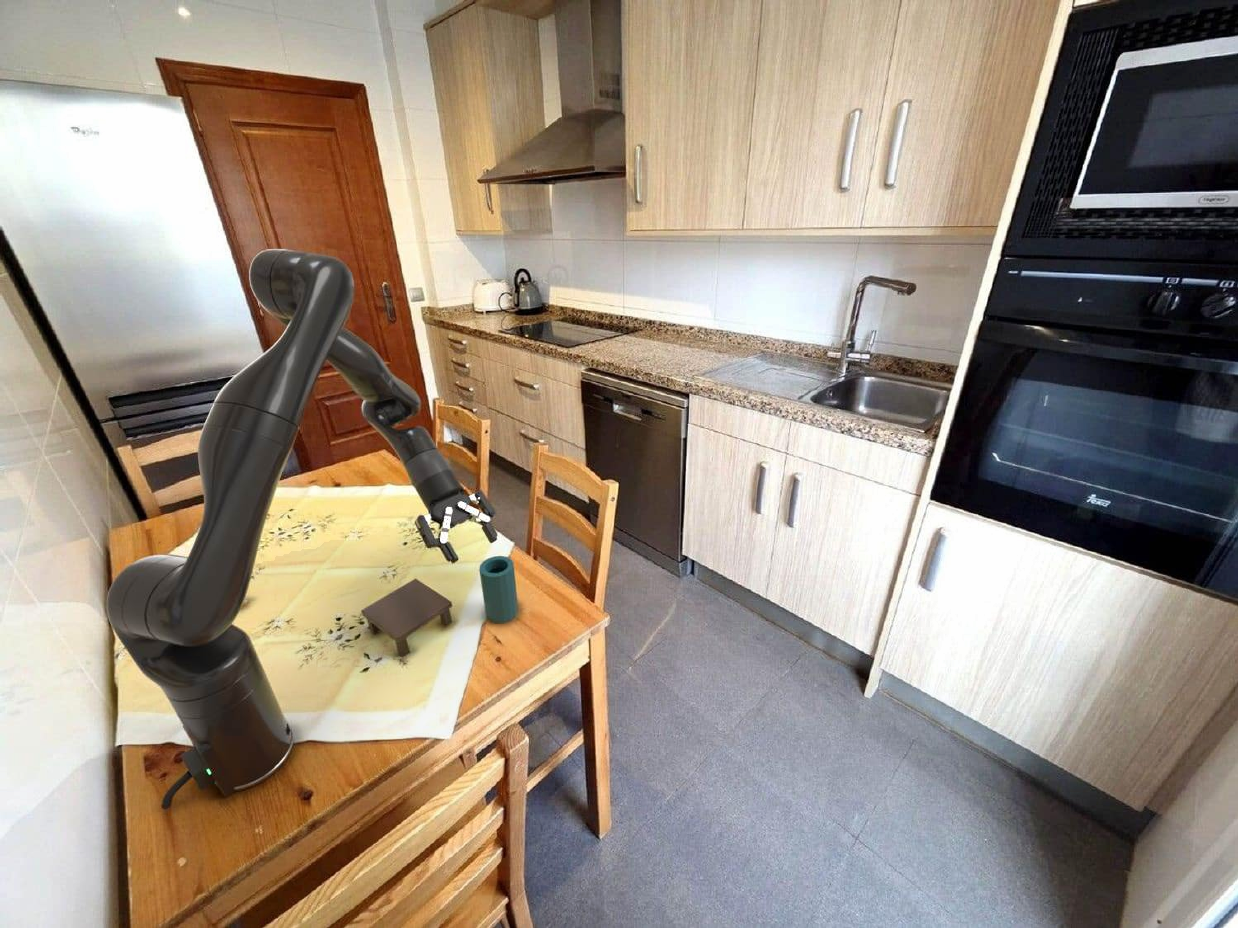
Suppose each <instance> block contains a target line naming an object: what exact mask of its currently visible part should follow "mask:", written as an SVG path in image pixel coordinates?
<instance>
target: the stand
mask: <svg viewBox="0 0 1238 928" xmlns="http://www.w3.org/2000/svg"><path fill="white" fill-rule="evenodd" d="M452 607H453V604H452V601H451V600H449V599H448V598H447V597H445V596H444V595H442V594H440V593H438V591H436V590H435V589H433V588H431V587H430V586H428V585H426V584H425V583H423V582H422V581H420V580H419V579H417V578H413V579H412V580H410V581H408V582H407V583H405V584H403V585H402V586H400V587H398V588H397V589H395V590H393V591H392V592H390V593H388V594H386V595H385V596H383V597H381V598H380V599H378V600H376V601H375V602H373V603H371V604H369V605H368V606H366V607H364V608H363V609H361V610H360V612H361V616H363V617H364V618H365V619H366V621H367V624H368V627H369V631H370V632H371V633H372V634H373V635H376V634H377V633H379V632H381V631H382V632H383V633H384V634H385V635H386V636H388V637H389V638H390V639H391V640H392V641H394V643H395V647H396V651H397V654H398V655H399V656H400V657H402V658H404V657H405V656H407V655H408V654H410V653H411V650H410V647H409V643H408V639H407V638H408V637H410V636H411V635H413V634H414V633H416V632H417V631H419V630H420V629H421V628H423V627H424V626H426V625H427V624H429V623H430V622H431V621H434V620H435V619H436V618H438V617H439V618H440V624H441V625H442V626H444V627H445V628H446V627H448V626H450V625H451V624H452V623H453V620H452V619H453V618H452V614H451V608H452Z"/></svg>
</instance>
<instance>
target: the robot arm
mask: <svg viewBox="0 0 1238 928" xmlns="http://www.w3.org/2000/svg"><path fill="white" fill-rule="evenodd" d="M248 277H249V285H250V288H251V290H252V293H253V295H254V297H255V298H256V300H257V302H258V303H259V304H260V305H261V307H262V308H263V309H264V310H265V311H266V312H268V314H270V315H271V316H272V317H273V318H274V319H276V320H277V321H278V322H279V323H281V324H282V325H283V326H284V327H286V328H285V329H284V331H283V333H282V335H281V336H280V337H279V339H278V340H277V341H276V342H275V343H274V344H273V345H272V346H271V347H270V348H268V349H267V350H266V351H265V352H264V353H262V354H261V355H259V357H257V358H256V359H254V360H253V361H252V362H251V363H249V364H248V365H247V366H245V367H244V368H243V369H241V370H240V371H239V372H238V373H236V374H235V375H234V376H233V377H232V378H231V379H230V380H229V381H228V382H227V383H225V384H224V386H223V387H222V388H221V389H220V390H219V392H218V394H217V395H216V398H214V402H213V404H212V406H211V408H210V410H209V413H208V415H207V418H206V420H205V422H204V424H203V427H202V430H201V431H200V434H199V439H198V443H197V444H198V445H197V459H198V460H197V461H198V468H199V474H200V481H201V486H202V492H203V493H202V494H203V513H202V519H201V522H200V525H199V529H198V532H197V535H196V537H195V539H194V543H193V545H192V548H191V549H190V552H189V554H188V556H183V555H178V554H170V553H168V554H167V553H161V554H153V555H147V556H144V557H142V558H140V559H138V560H135V561H134V562H132V563H130V564H129V565H127V566H126V567H125V568H123V569H122V570H121V571H120V572H119V574H118V575H117V576H116V577H115V579H114V580H113V582H112V583H111V584H110V587H109V589H108V592H107V595H106V604H105V605H106V615H107V619H108V621H109V623H110V626H111V628H112V630H113V631H114V633H115V635H116V636H117V638H118V640H119V641H120V642H121V644H122V646H123V647H124V648H125V650H126V651H127V653H128V654H129V657H130V658H131V659H132V660H133V662H134V663H135V665H136V666H137V668H138V669H139V670H140V672H141V673H142V674H143V675H144V676H145V677H146V678H147V679H149V680H150V681H151V682H153V683H154V684H156V685H157V686H158V687H159V688H160V689H161V690H162V691H163V693H164V695H165V697H166V698H167V700H168V702H169V704H170V705H171V707H172V708H173V710H174V712H175V714H176V716H177V717H178V719H179V721H180V722H181V724H182V728H183V730H184V731H185V734H186V735H187V737H188V738H189V741H190V742H191V744H192V745H193V747H191V748H188V750H186V751H185V752H183V753H181V754H180V755H179V757H180V759H181V761H182V762H183V763H184V765H185V767H186V768H187V771H186V772H185V773H184V774H183V775H182V776H181V777H180V778H179V779H178V780H176V782H174V783H173V784H172V785H171V786H170V787H169V789H167V791H166V793H165V795H164V796H163V799H162V801H161V809H163V810H167V809H169V808H171V806H172V803H173V800H174V799H173V798H174V796H175V795H176V793H178V791H179V790H180V789H181V788H182V787H183V786H184V785H186V783H188V782H190V780H191V779H193V780H194V782H195V783H196V785H197V786H198V789H199V791H200V792H203V791H205V790H206V789H208V788H209V787H211V786H212V785H213V784H215V786H216V787H217V788H218V790H219V791H220V792H221V794H222V795H223V797H224V798H228V797H230V796H231V795H233V794H234V793H236V792H240V791H243V790H247V789H249V788H252V787H255V786H257V785H259V784H261V783H263V782H264V781H266V780H267V779H269V778H270V777H272V776H273V775H274V774H275V773H276V772H278V770H280V769H281V767H282V766H283V765H284V764H285V763H286V761H287V760H288V759H289V757H290V755H291V753H292V751H293V749H294V746H295V737H294V734H293V730H292V729H291V726H290V725H289V723H288V721H287V719H286V717H285V716H284V712H283V711H282V709H281V706H280V704H279V702H278V699H277V697H276V694H275V692H274V690H273V687H272V686H271V683H270V681H269V678H268V676H267V674H266V671H265V669H264V667H263V664H262V663H261V660H260V657H259V655H258V653H257V651H256V648H255V646H254V643H253V641H252V639H251V638H250V635H248V633H247V631H245V630H243V629H242V628H240V627H239V626H237V625H235V624H234V622H235V620H236V618H237V616H238V615H239V613H240V611H241V610H242V608H243V607H242V605H243V602H244V600H245V599H246V596H247V593H248V590H249V587H250V582H251V579H252V575H253V570H254V567H255V562H256V558H257V555H258V551H259V546H260V543H261V539H262V534H263V531H264V528H265V524H266V522H267V517H268V515H269V511H270V509H271V506H272V503H273V500H274V497H275V493H276V490H277V488H278V485H279V483H280V479H281V477H282V474H283V471H284V469H285V467H286V464H287V462H288V459H289V457H290V455H291V452H292V450H293V447H294V444H295V441H296V439H297V437H298V433H299V431H300V429H301V425H302V422H303V419H304V416H305V413H306V409H307V406H308V404H309V402H310V399H311V396H312V394H313V391H314V389H315V386H316V384H317V381H318V380H319V377H320V374H321V372H322V370H323V367H324V365H325V363H326V362H327V363H328V364H329V365H330V366H331V367H332V368H333V369H335V371H336V372H337V374H339V375H340V376H341V377H342V379H343V380H344V381H345V382H346V383H347V385H348V386H349V387H350V389H352V391H353V392H354V393H355V394H356V395H357V396H358V397H359V398H360V399H361V400H363V401H362V403H361V406H360V408H361V415H362V416H363V419H364V420H365V421H366V422H367V424H368V425H370V426H371V427H372V428H373V429H374V430H375V431H376V432H377V433H379V434H380V435H381V436H382V437H383V438H384V439H385V440H386V441H387V443H388V444H389V445H390V446H391V448H392V449H393V451H394V452H395V454H396V455H397V458H398V459H399V460H400V462H401V464H402V466H403V467H404V470H405V472H406V475H407V477H408V479H409V481H410V483H411V486H412V487H413V488H414V489H415V491H416V493H417V494H418V496H419V498H420V500H421V501H422V503H423V506H424V507H425V508H426V510H427V512H428V513H427V514H418V516H417V517H416V519H415V520H414V525H415V527H416V529H417V531H418V534H420V537H421V540H422V542H423V543H424V545H425V547H426V548H427V549H429V550H430V549H432V548H439V550H440V551H441V553H442V556H443V557H444V558H445V561H447V562H448V563H451V564H455V563H457V562H458V561H459V555H458V554H457V553H456V551H455V549H454V547H453V546H452V544H451V542H450V541H448V536H449V531H450V529H453V528H455V527H456V526H457V525H461V524H464V523H466V522H467V521H468V522H470V523H475V524H478V525H479V526H481V530H482V532H483V533H484V535H485V537H486V539H487V540H488V541H489V543H490V544H493V543H495V542H496V541H497V540H498V532H497V531H496V528H495V527H494V525H493V524H492V519H493V517H495V516H496V514H497V511H496V510H495V508H494V506H493V505H492V503H491V502H490V501H489V499H488V497H487V496H486V495H485V493H484V491H483V490H482V489H477V490H476V491H475V492H474V493H472V494H470V495H468V494H466V493H465V491H464V488H463V486H462V484H461V483H460V481H459V479H458V478H457V476H456V474H455V472H454V471H453V469H452V468H451V466H450V463H449V462H448V461H447V459H446V457H445V456H444V455H443V454H442V452H441V451H440V449H439V448H438V446H437V444H436V442H435V441H434V440H433V438H432V436H431V434H430V433H429V431H428V430H427V429H426V428H425V427H423V426H417V425H416V426H412V427H407V428H403V429H395V427H396V426H399V425H401V424H403V423H404V422H406V421H408V420H410V419H413V418H415V417H416V416H417V415H418V414H420V412H421V410H422V401H421V398H420V396H419V394H418V393H417V391H415V390H414V388H412V387H411V386H410V385H409V384H407V383H406V382H404V381H403V380H401V379H400V378H398V377H397V376H396V375H394V374H393V373H392V372H391V370H390V369H389V367H388V366H387V365H386V363H385V362H384V359H382V357H381V356H380V355H379V353H378V352H377V351H376V350H375V348H373V347H372V346H371V345H369V344H368V343H367V342H366V341H364V340H363V339H361V338H360V337H359V336H357V335H356V334H354V333H353V332H351V331H350V330H349V329H348V328H346V327H344V326H345V324H346V322H347V320H348V317H349V315H350V312H351V309H352V307H353V303H354V298H355V281H354V277H353V273H352V271H351V269H350V268H349V266H348V265H347V264H346V263H345V262H344V261H342V260H341V259H339V258H338V257H334V256H331V255H329V254H328V255H327V254H322V253H317V252H316V253H315V252H306V251H299V250H292V249H285V248H270V249H265V250H262V251H260V252H259V253H257V254H256V255H255V256H254V257H253V259H252V261H251V264H250V267H249V275H248ZM472 503H473V504H474V505H477V506H478V508H479V509H477V508H475V507H473V506H472ZM431 521H432V522H434V523H436V524H438V529H437V538H436V537H435V535H434V533H433V531H432V529H431V526H430V525H431Z"/></svg>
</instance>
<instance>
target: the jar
mask: <svg viewBox="0 0 1238 928" xmlns="http://www.w3.org/2000/svg"><path fill="white" fill-rule="evenodd" d="M514 564H515V563H514V561H513V559H512V558H509V557H508V556H503V555H495V556H492V557H491V556H490V557H488V558H487V559H484V560H483V561H481V563H480V565H479V569H478V571H479V577H480V585H481V591H482V599H483V604H484V611H485V612H484V613H485V616H486V619H487V620H488V621H489V622H491V623H493V624H498V625H499V624H501V625H502V624H506V623H509V622H511V621H512V620H514V619H515V618H516V617H517V615H518V613H519V602H518V595H517V594H518V593H517V592H518V591H517V583H516V574H515V573H516V572H515V565H514Z"/></svg>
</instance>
